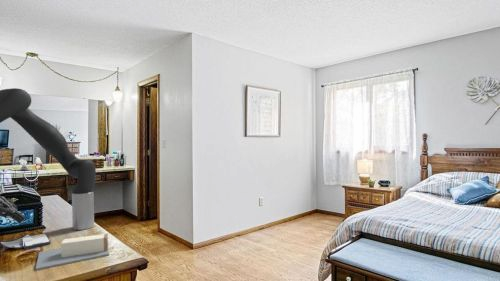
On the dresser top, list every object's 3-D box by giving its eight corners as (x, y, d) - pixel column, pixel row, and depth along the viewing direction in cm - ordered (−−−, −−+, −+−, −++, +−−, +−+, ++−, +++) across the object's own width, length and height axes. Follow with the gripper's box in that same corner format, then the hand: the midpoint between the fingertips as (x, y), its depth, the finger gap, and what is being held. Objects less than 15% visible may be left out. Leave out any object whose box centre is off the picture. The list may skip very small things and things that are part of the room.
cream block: (61, 243, 106) (107, 237, 111) (64, 239, 110) (108, 233, 116) (61, 257, 106) (107, 250, 111) (64, 252, 110) (108, 246, 116)
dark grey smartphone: (21, 241, 127) (24, 250, 115) (21, 237, 127) (24, 246, 115) (45, 236, 133) (51, 245, 121) (45, 233, 133) (51, 241, 121)
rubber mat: (39, 253, 111) (39, 251, 111) (103, 241, 123) (103, 240, 123) (35, 270, 97) (35, 268, 97) (108, 255, 109) (108, 253, 109)
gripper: (-22, 183, 94) (25, 216, 99) (-5, 178, 106) (37, 208, 111) (-43, 201, 92) (7, 234, 97) (-23, 194, 104) (20, 223, 109)
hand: (23, 220), depth 104 cm, fingers closed
